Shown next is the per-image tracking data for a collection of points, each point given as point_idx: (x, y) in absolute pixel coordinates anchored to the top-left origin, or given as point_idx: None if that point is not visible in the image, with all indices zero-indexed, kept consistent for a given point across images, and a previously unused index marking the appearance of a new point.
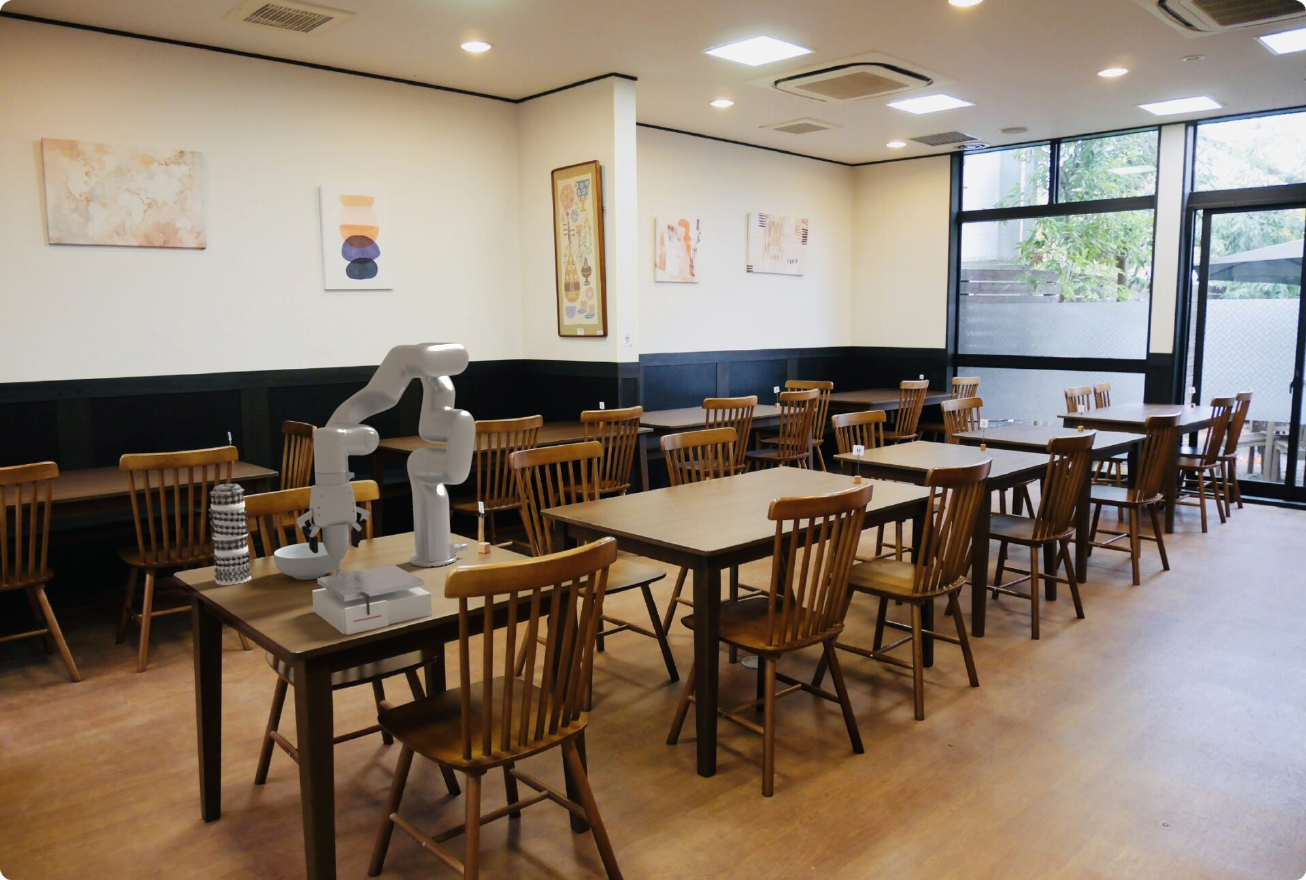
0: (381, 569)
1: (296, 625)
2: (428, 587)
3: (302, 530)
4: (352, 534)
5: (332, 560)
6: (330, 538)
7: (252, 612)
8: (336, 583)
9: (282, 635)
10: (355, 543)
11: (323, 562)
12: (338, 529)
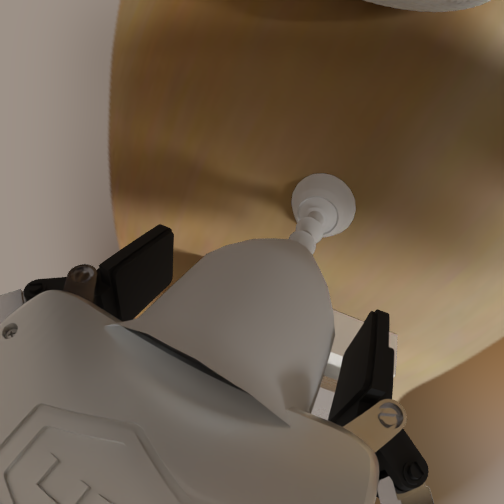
0: (321, 404)
1: None
2: (467, 350)
3: (45, 284)
4: (352, 382)
5: (437, 8)
6: (188, 355)
7: (127, 150)
8: None
9: None
10: (341, 369)
11: (390, 2)
12: None
